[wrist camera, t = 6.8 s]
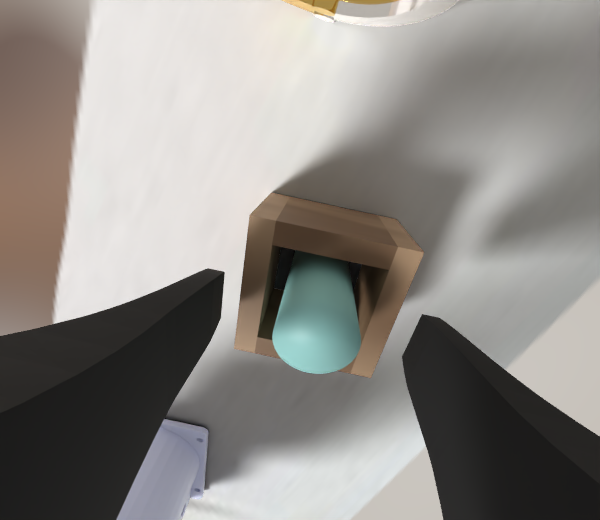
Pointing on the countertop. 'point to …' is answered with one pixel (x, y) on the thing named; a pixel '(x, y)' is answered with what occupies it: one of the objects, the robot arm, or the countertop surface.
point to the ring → (374, 10)
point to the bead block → (335, 244)
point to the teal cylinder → (317, 315)
